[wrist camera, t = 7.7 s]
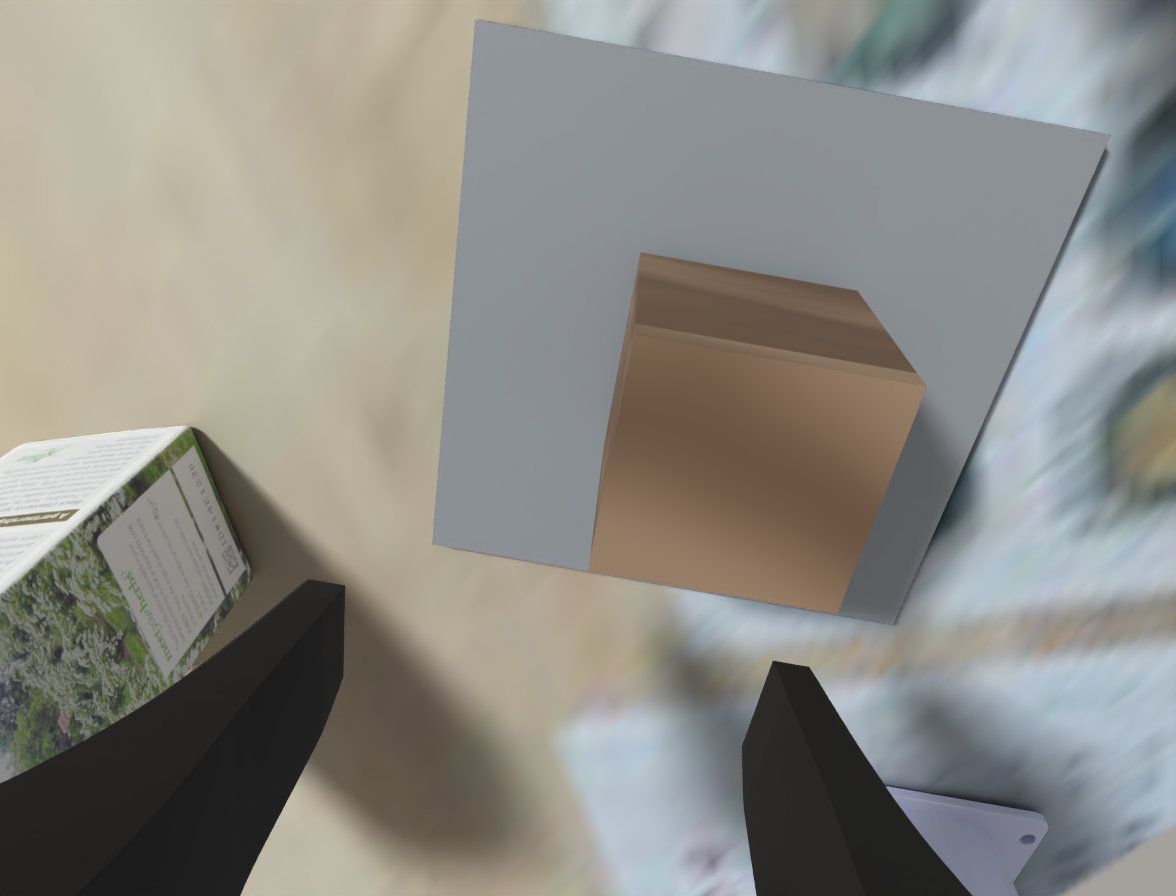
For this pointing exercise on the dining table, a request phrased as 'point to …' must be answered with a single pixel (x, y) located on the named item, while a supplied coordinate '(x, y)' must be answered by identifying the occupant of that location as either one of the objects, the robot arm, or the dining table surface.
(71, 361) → the dining table surface
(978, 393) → the flat grey base plate
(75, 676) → the syrup box
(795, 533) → the brown shipping carton
